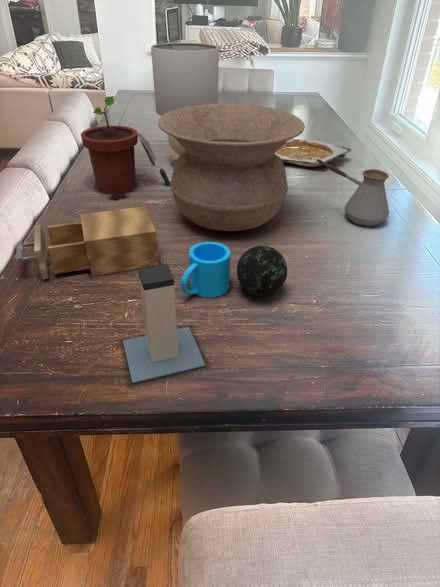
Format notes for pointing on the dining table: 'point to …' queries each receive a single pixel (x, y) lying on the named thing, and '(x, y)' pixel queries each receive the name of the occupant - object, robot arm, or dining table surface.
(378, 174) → the coffee pot
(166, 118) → the pot
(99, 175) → the potted plant
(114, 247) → the cabinet
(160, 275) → the black-capped tall post
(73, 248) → the drawer
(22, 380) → the dining table surface
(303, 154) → the pizza
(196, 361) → the mat
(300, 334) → the dining table surface
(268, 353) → the dining table surface
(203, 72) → the lamp
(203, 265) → the mug
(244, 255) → the decorative stone
